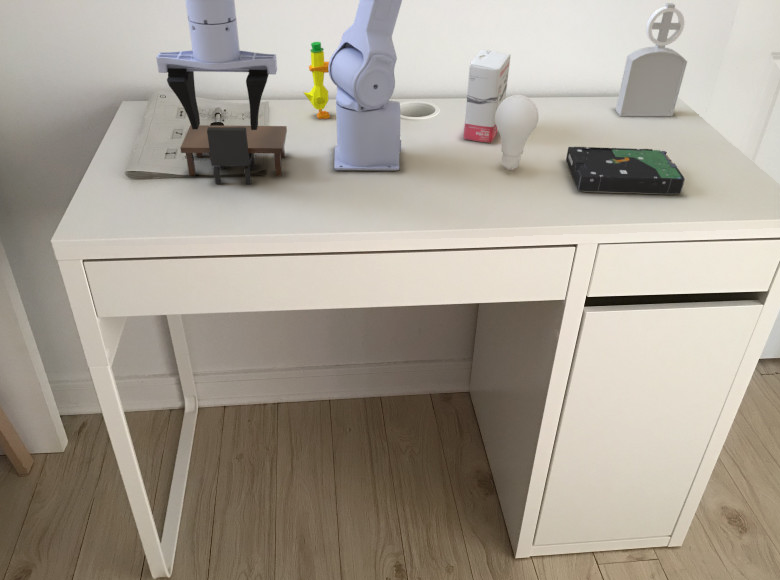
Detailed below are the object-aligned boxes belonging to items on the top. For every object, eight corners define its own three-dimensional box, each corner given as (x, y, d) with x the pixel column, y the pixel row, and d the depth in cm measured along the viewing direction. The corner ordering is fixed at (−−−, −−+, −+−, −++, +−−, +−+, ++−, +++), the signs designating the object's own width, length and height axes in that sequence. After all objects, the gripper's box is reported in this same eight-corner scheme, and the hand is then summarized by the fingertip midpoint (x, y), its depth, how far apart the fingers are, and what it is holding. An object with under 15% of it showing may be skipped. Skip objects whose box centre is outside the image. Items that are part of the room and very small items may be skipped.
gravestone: (615, 110, 128) (639, 1, 117) (666, 110, 128) (695, 2, 117) (620, 116, 126) (644, 5, 114) (672, 116, 126) (702, 6, 115)
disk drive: (577, 194, 102) (681, 196, 102) (581, 176, 100) (687, 177, 100) (564, 163, 110) (660, 164, 110) (567, 145, 108) (665, 147, 108)
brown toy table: (288, 154, 109) (286, 125, 106) (284, 177, 103) (282, 148, 100) (194, 153, 108) (190, 125, 105) (185, 177, 102) (180, 147, 99)
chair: (255, 166, 105) (250, 113, 100) (250, 186, 100) (245, 130, 95) (220, 166, 105) (213, 112, 100) (214, 185, 100) (206, 130, 95)
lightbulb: (506, 157, 111) (515, 85, 104) (538, 170, 107) (550, 97, 100) (480, 168, 107) (488, 95, 100) (512, 182, 104) (523, 107, 97)
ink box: (491, 144, 114) (500, 68, 107) (461, 139, 115) (468, 64, 108) (503, 125, 121) (512, 52, 113) (474, 120, 122) (481, 48, 114)
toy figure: (342, 111, 123) (340, 38, 116) (346, 119, 120) (345, 44, 113) (302, 114, 122) (298, 40, 114) (306, 122, 119) (302, 47, 112)
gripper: (275, 10, 91) (282, 115, 99) (158, 8, 90) (175, 114, 98) (270, 26, 85) (278, 136, 94) (145, 24, 84) (165, 135, 93)
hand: (225, 126), depth 96 cm, fingers open, 7 cm apart
